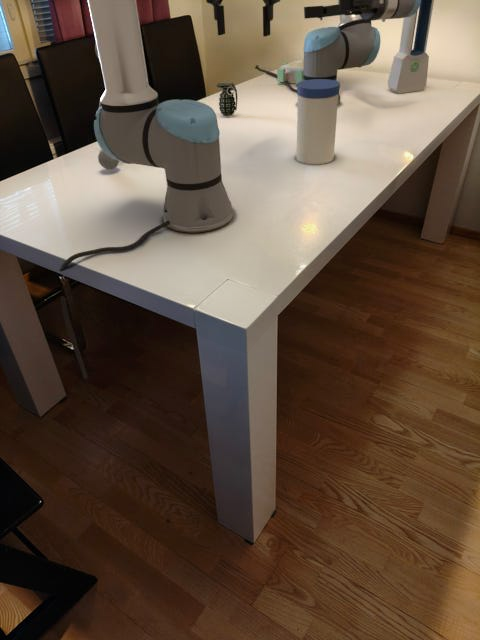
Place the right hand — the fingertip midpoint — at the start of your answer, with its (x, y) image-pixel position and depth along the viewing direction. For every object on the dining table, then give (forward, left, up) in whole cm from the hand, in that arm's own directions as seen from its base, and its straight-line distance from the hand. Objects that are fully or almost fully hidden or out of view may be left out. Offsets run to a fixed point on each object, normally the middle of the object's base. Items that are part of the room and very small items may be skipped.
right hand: (321, 8), depth 130 cm
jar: (+21, 0, -33) cm, 39 cm away
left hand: (+8, -20, -5) cm, 22 cm away
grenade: (-20, -31, -33) cm, 49 cm away
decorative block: (-73, -6, -33) cm, 80 cm away
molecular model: (+20, -52, -33) cm, 64 cm away
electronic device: (-52, +33, -33) cm, 69 cm away
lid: (+21, 0, -14) cm, 25 cm away
